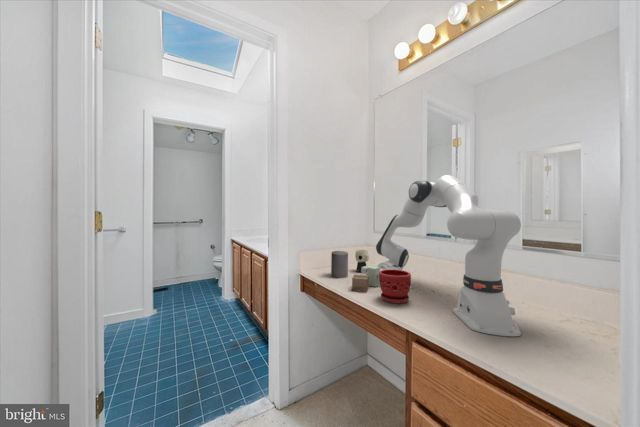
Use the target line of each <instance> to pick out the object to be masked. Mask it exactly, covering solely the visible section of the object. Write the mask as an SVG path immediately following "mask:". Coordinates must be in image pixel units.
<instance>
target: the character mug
mask: <svg viewBox="0 0 640 427" xmlns="http://www.w3.org/2000/svg"><path fill="white" fill-rule="evenodd" d="M354 257H355V260H356V262H357V265H356V272H359V273H362V272H361V268H362V267H364V266H367V263H366V262H368V260H369V253H368V250H367V249H356V250H355V256H354Z"/></svg>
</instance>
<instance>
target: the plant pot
mask: <svg viewBox="0 0 640 427" xmlns="http://www.w3.org/2000/svg"><path fill="white" fill-rule="evenodd" d="M379 283H380V285H379V287H380V290H381V294H380V297H381V298H382V300H383V301H386V302H388V303H392V304H404V303H407V302H408V301H409V299H410V296H409V295H408V294H409V292H410V290H411V289H410V287H411V285H412V275H411V273H410V272H409V271H406V270H403V269H402V270H382V271H380V272H379Z"/></svg>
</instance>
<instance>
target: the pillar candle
mask: <svg viewBox="0 0 640 427" xmlns="http://www.w3.org/2000/svg"><path fill="white" fill-rule="evenodd" d="M330 257H331V260H330V261H331V262H330V263H331V264H330V266H331V267H330V275H331V277H332V278H336V279H345V278H347V277H348V276H349V271H348V270H349V252H348V251H344V250H340V249H339V250H333V251H331V256H330Z"/></svg>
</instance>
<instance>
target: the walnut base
mask: <svg viewBox="0 0 640 427" xmlns="http://www.w3.org/2000/svg"><path fill="white" fill-rule="evenodd" d="M351 279H352V280H351V284H352V285H351V286H352V287H351V291H353V292H362V293H363V292H364V293H367V292H368V290H369V287H370V286H369V275H366V274H353V276H352V277H351Z"/></svg>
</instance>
